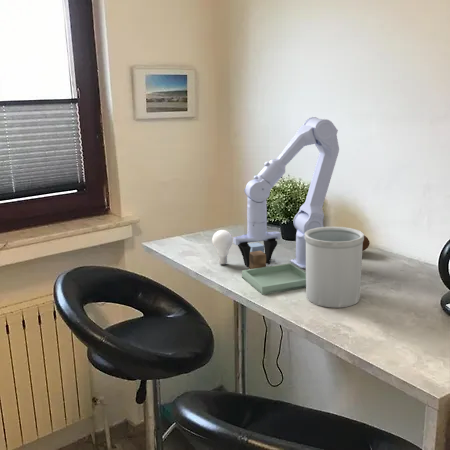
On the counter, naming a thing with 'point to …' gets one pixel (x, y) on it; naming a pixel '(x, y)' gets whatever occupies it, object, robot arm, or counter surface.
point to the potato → (365, 243)
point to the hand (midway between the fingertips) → (257, 264)
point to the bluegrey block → (256, 247)
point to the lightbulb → (222, 244)
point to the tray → (275, 278)
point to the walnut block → (257, 259)
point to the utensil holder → (333, 266)
